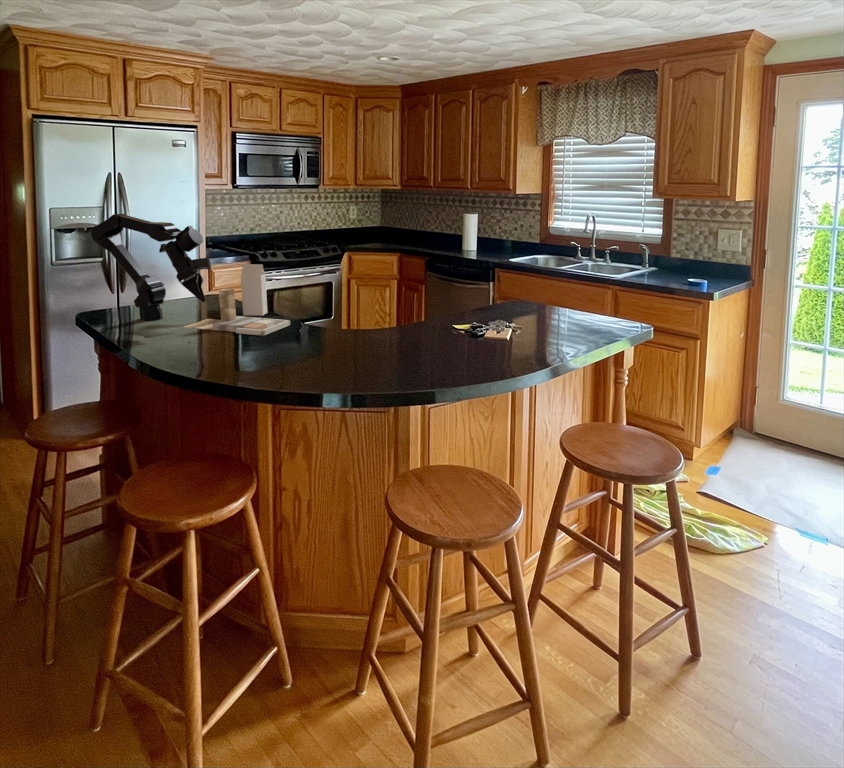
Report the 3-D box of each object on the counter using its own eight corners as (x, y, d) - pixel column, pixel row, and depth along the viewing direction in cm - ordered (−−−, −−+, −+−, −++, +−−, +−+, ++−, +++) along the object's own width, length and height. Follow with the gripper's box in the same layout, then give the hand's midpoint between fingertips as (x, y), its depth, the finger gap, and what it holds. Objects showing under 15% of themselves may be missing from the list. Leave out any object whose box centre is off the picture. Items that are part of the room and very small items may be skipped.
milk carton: (263, 319, 266) (260, 265, 261) (243, 319, 266) (239, 265, 261) (267, 315, 273) (264, 263, 268) (248, 315, 273) (244, 262, 268)
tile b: (243, 334, 241) (242, 326, 241) (251, 330, 246) (251, 323, 245) (257, 335, 240) (256, 327, 239) (265, 332, 244) (264, 324, 244)
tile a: (253, 330, 247) (253, 322, 246) (261, 327, 252) (261, 319, 251) (267, 331, 245) (266, 323, 245) (275, 328, 250) (274, 320, 249)
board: (182, 331, 247) (182, 326, 247) (208, 323, 260) (207, 318, 260) (237, 336, 241) (237, 331, 240) (261, 327, 253) (260, 323, 253)
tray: (236, 337, 239) (235, 328, 238) (264, 326, 255) (264, 318, 254) (263, 340, 236) (263, 330, 235) (290, 329, 251) (290, 320, 250)
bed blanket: (212, 329, 244) (210, 292, 240) (235, 321, 256) (233, 286, 252) (241, 331, 240) (239, 294, 237) (263, 323, 252) (261, 288, 249)
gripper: (197, 242, 241) (221, 286, 242) (205, 251, 259) (227, 292, 260) (165, 258, 239) (190, 302, 240) (175, 266, 257) (198, 307, 259)
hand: (202, 300), depth 250 cm, fingers open, 9 cm apart
